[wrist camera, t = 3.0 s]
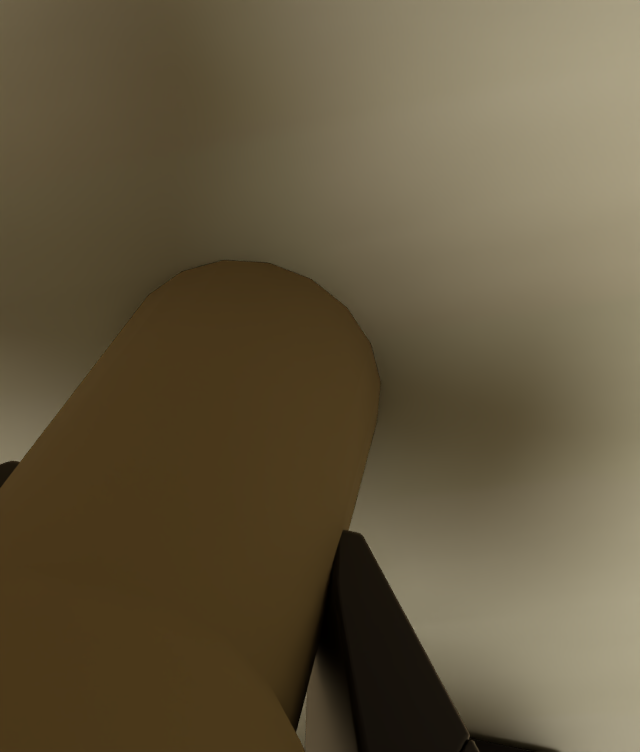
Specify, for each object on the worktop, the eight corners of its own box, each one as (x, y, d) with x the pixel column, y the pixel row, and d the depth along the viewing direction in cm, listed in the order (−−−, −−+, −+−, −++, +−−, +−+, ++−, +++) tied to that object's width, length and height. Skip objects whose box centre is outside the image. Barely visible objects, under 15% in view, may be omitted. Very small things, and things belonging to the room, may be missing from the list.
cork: (389, 495, 13) (445, 1621, 3) (153, 505, 14) (-402, 1443, 4) (370, 245, 11) (345, 1547, 1) (86, 274, 12) (-1708, 1141, 2)
